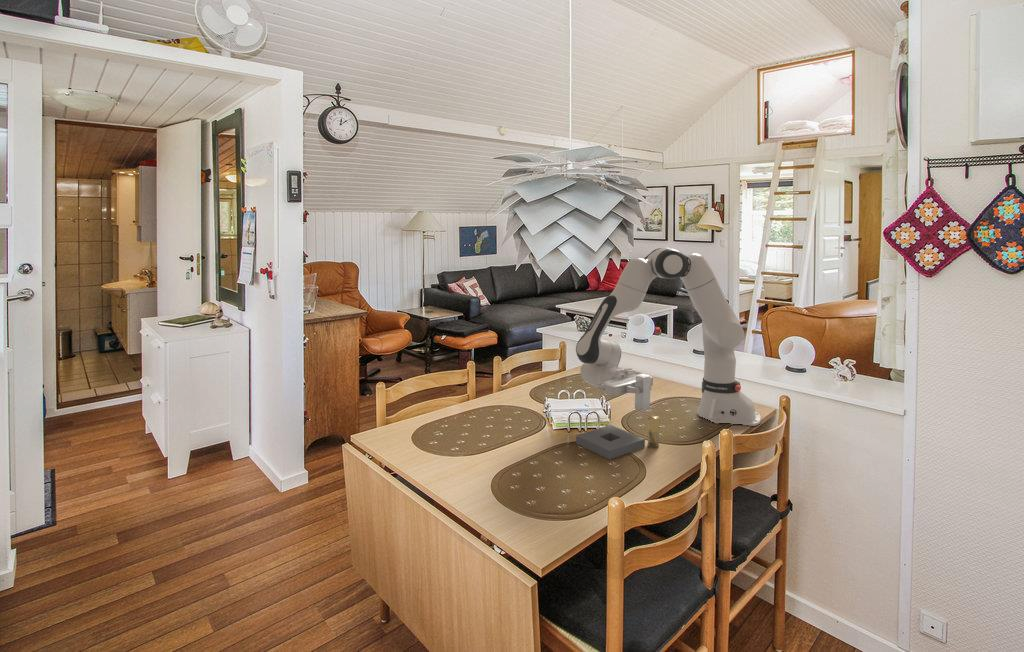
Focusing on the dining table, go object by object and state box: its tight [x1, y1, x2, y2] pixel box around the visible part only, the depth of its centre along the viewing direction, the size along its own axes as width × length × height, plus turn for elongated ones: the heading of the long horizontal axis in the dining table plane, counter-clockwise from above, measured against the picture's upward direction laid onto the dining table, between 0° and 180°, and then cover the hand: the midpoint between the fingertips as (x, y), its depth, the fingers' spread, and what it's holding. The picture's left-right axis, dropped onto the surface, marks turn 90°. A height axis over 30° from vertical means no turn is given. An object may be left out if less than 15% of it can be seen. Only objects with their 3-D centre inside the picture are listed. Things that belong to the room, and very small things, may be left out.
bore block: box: [575, 424, 646, 460], centre depth 189 cm, size 16×16×3 cm
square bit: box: [634, 373, 652, 412], centre depth 195 cm, size 4×4×12 cm
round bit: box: [647, 415, 661, 449], centre depth 188 cm, size 4×4×10 cm
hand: (644, 390), depth 194 cm, fingers closed on square bit, 4 cm apart
